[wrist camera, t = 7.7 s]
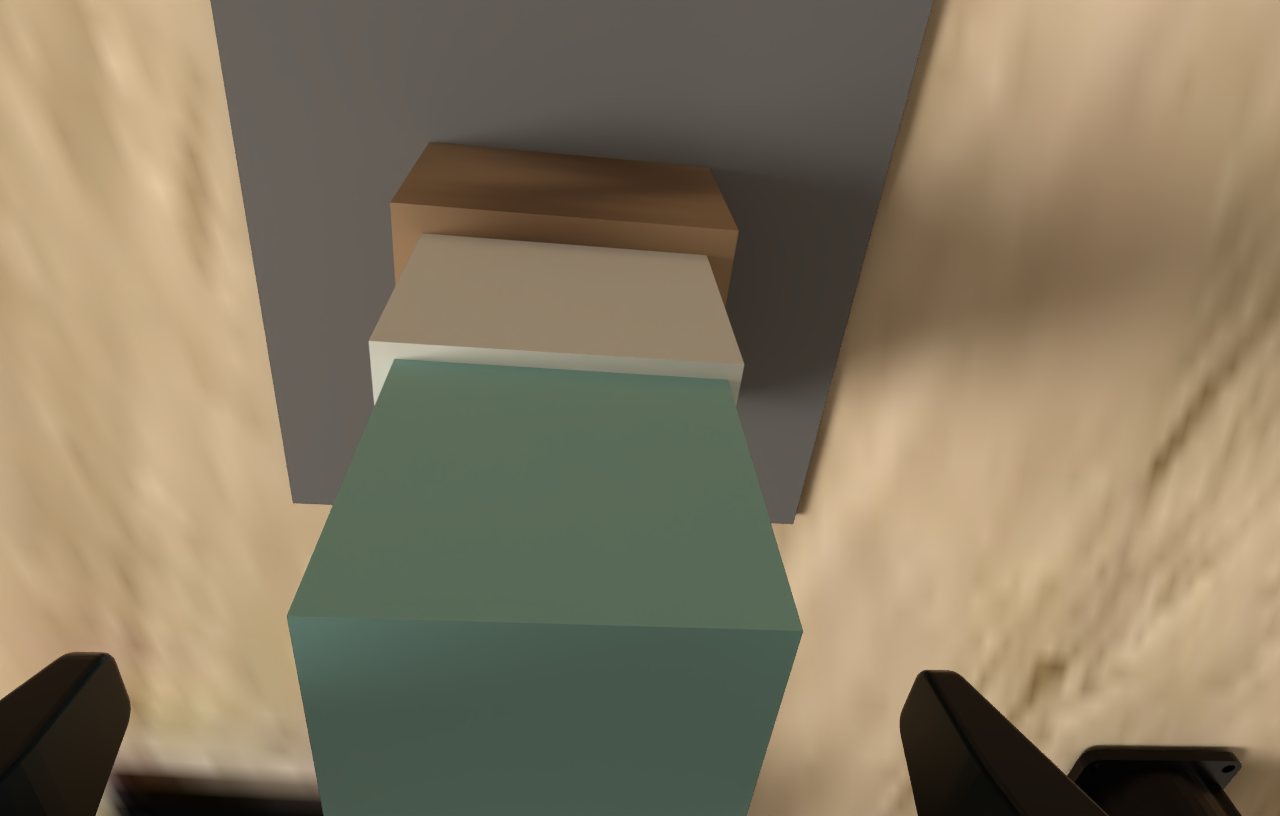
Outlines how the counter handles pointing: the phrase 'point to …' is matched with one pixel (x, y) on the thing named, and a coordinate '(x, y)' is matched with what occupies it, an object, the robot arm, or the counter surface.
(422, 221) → the tower base
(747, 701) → the teal cube
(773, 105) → the mat
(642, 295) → the tower mid
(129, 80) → the counter surface
